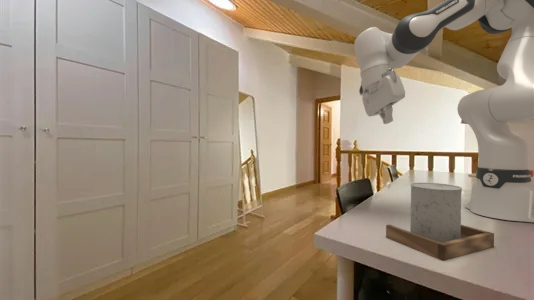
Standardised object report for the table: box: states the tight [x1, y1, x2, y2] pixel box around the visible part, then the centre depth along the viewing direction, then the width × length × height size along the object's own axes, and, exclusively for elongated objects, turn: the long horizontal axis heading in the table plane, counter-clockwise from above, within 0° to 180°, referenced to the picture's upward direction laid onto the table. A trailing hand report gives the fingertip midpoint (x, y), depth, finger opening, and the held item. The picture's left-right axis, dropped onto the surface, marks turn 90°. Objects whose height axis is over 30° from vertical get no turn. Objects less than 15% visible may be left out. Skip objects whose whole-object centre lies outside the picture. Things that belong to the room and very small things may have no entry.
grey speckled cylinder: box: [409, 182, 463, 243], centre depth 58 cm, size 10×10×12 cm
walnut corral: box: [385, 224, 495, 261], centre depth 57 cm, size 16×13×3 cm
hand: (388, 122), depth 79 cm, fingers closed
